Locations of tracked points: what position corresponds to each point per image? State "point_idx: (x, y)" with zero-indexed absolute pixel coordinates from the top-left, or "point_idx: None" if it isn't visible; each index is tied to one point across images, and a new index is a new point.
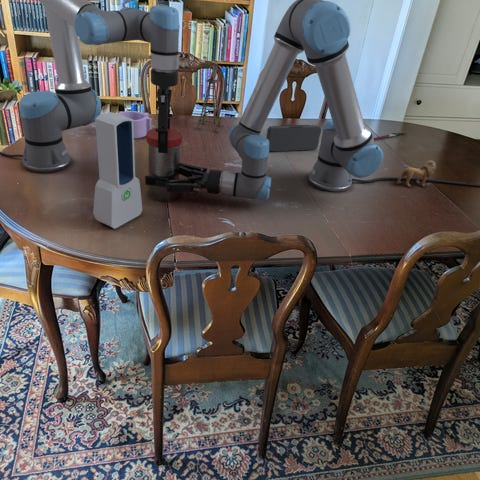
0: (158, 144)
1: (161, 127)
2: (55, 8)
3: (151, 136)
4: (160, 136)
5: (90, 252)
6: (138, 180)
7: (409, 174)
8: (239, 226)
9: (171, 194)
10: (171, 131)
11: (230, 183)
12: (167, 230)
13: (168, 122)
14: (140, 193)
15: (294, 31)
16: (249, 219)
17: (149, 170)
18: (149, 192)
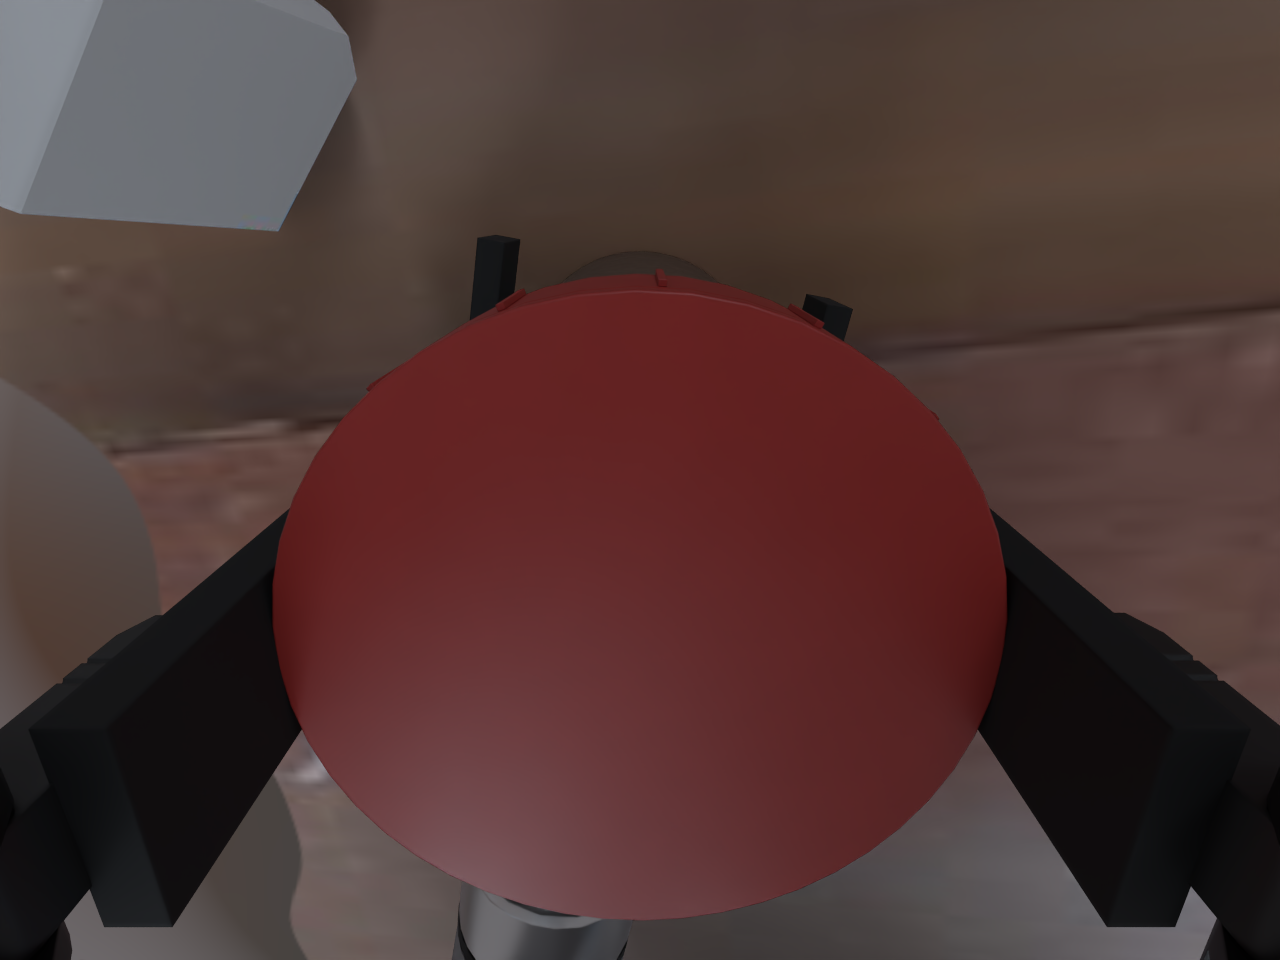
0: (243, 553)
1: (1022, 594)
2: None
3: (432, 427)
4: (26, 717)
5: None
6: (13, 204)
7: None
8: (303, 801)
9: None
10: (806, 772)
11: (465, 915)
12: (129, 424)
13: (1059, 814)
14: (161, 221)
15: None
16: (392, 848)
17: (579, 279)
18: (608, 257)
